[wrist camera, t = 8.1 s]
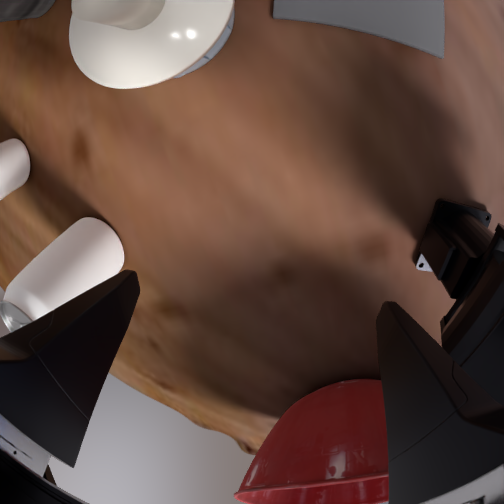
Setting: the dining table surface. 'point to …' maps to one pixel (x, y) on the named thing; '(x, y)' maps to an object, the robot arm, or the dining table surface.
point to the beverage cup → (23, 9)
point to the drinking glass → (13, 166)
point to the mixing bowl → (324, 450)
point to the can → (63, 272)
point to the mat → (375, 19)
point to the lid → (143, 38)
